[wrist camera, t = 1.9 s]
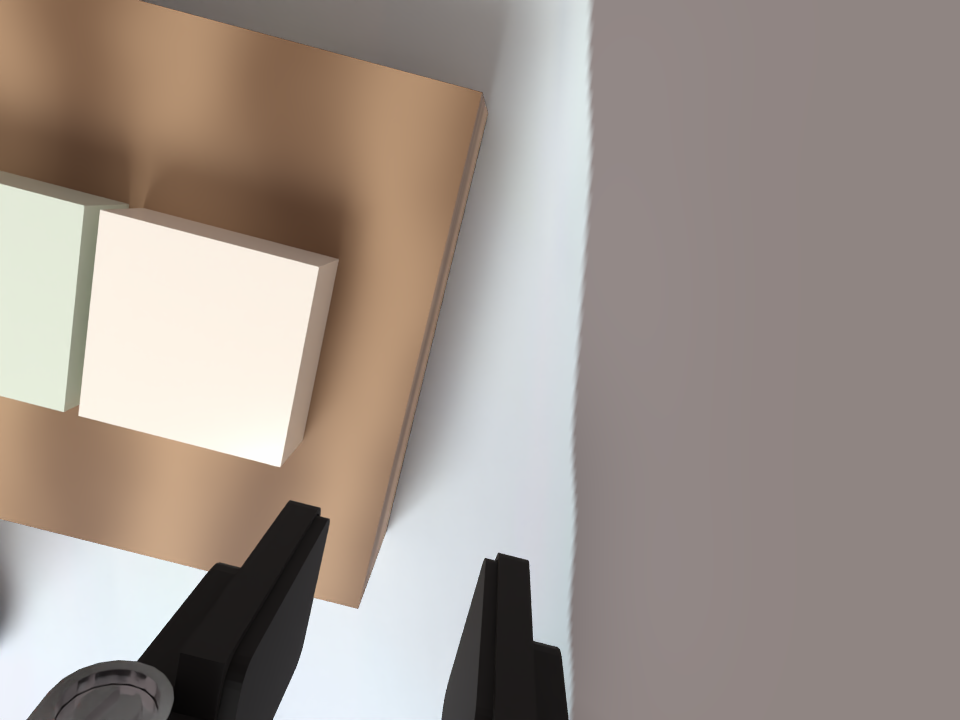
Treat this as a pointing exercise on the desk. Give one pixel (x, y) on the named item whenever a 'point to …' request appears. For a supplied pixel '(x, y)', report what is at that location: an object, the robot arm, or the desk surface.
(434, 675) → the desk surface
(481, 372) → the desk surface
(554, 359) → the desk surface
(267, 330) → the tile cream
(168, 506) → the wooden block
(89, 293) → the tile sage
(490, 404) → the desk surface
